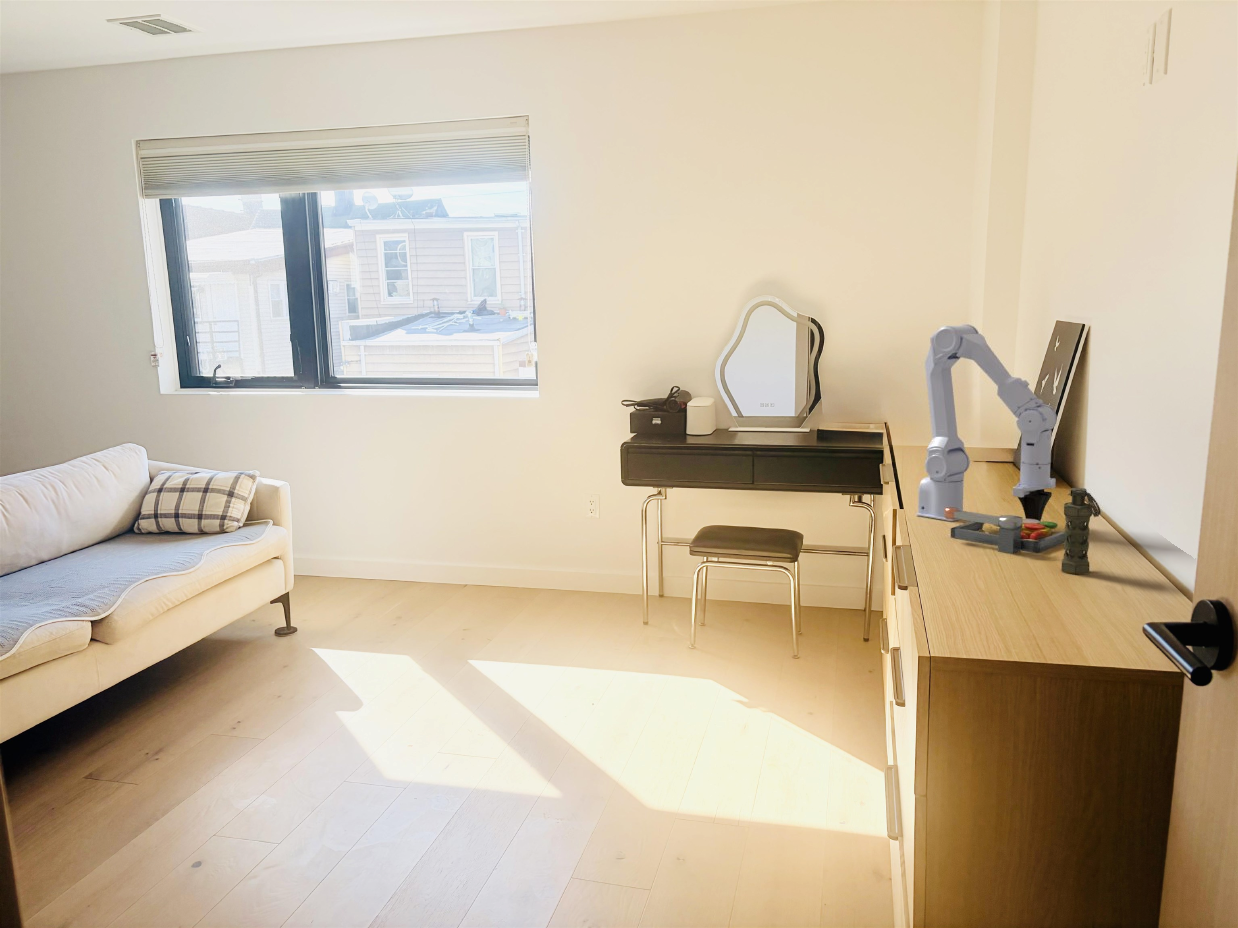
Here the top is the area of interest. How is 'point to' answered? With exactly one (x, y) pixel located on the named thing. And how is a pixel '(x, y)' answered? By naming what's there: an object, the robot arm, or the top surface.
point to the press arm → (985, 518)
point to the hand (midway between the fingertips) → (1033, 524)
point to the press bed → (1005, 538)
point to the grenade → (1078, 531)
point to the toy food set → (1028, 529)
